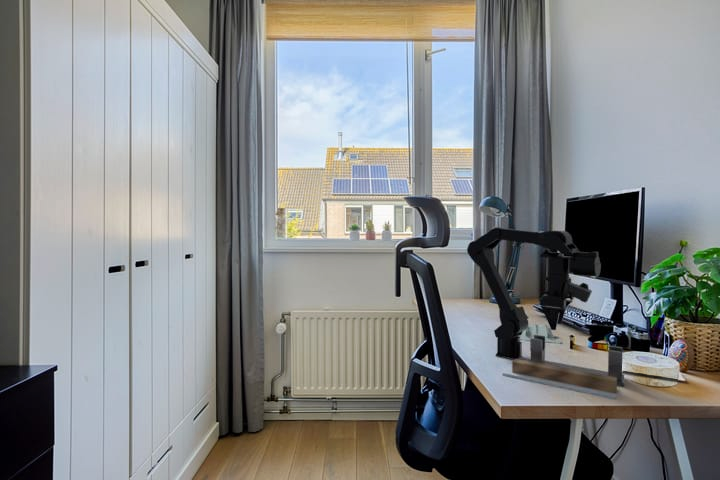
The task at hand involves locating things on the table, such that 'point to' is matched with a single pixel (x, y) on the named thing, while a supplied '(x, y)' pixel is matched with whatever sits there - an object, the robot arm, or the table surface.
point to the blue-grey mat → (558, 384)
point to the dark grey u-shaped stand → (613, 366)
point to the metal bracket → (539, 333)
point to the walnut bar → (565, 375)
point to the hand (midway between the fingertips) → (556, 326)
